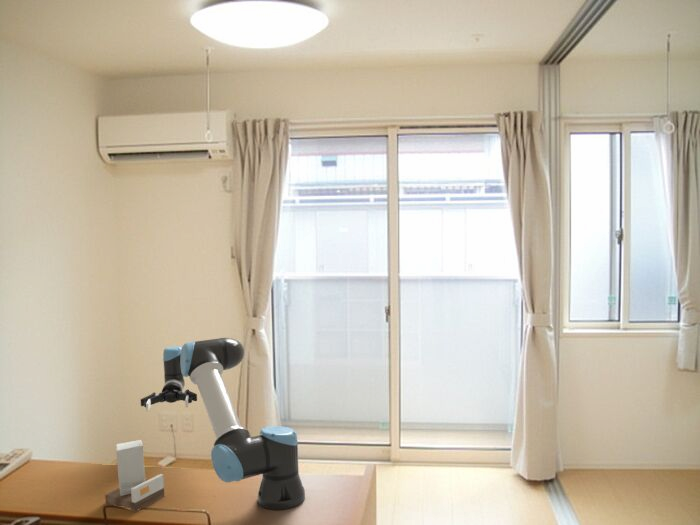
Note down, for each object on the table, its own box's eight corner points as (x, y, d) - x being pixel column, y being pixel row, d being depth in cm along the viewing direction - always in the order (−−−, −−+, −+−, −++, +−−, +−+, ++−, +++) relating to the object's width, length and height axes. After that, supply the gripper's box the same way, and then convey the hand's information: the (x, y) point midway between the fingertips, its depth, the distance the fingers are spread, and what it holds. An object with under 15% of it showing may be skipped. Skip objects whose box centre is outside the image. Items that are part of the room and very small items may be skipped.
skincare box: (145, 484, 198) (142, 438, 197) (146, 491, 192) (144, 445, 191) (118, 489, 195) (115, 443, 194) (119, 497, 188) (116, 449, 188)
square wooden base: (165, 496, 194) (163, 474, 194) (136, 512, 184) (134, 489, 184) (135, 488, 201) (134, 467, 201) (105, 503, 191) (104, 481, 191)
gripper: (205, 397, 235) (203, 412, 214) (139, 403, 230) (131, 419, 209) (204, 378, 234) (202, 392, 214) (138, 384, 229) (130, 398, 208)
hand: (167, 405), depth 211 cm, fingers open, 13 cm apart
